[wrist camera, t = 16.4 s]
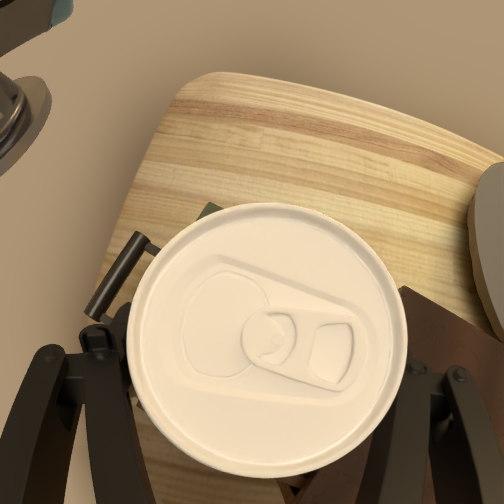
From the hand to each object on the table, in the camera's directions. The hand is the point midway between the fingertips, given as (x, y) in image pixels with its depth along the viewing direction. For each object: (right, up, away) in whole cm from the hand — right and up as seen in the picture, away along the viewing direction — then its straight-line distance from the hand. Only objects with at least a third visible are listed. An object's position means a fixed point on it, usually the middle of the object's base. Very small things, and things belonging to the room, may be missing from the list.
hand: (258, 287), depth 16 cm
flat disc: (+36, -1, +14) cm, 38 cm away
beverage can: (0, -4, +2) cm, 5 cm away
